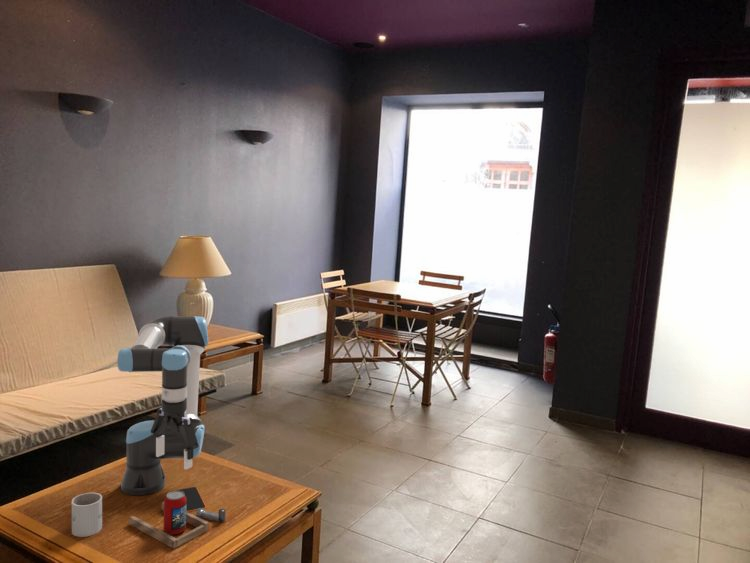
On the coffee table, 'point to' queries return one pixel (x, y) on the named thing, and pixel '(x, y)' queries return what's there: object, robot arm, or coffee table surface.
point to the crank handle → (211, 514)
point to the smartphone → (193, 499)
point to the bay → (166, 538)
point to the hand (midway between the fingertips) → (173, 461)
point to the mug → (86, 514)
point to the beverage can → (175, 512)
